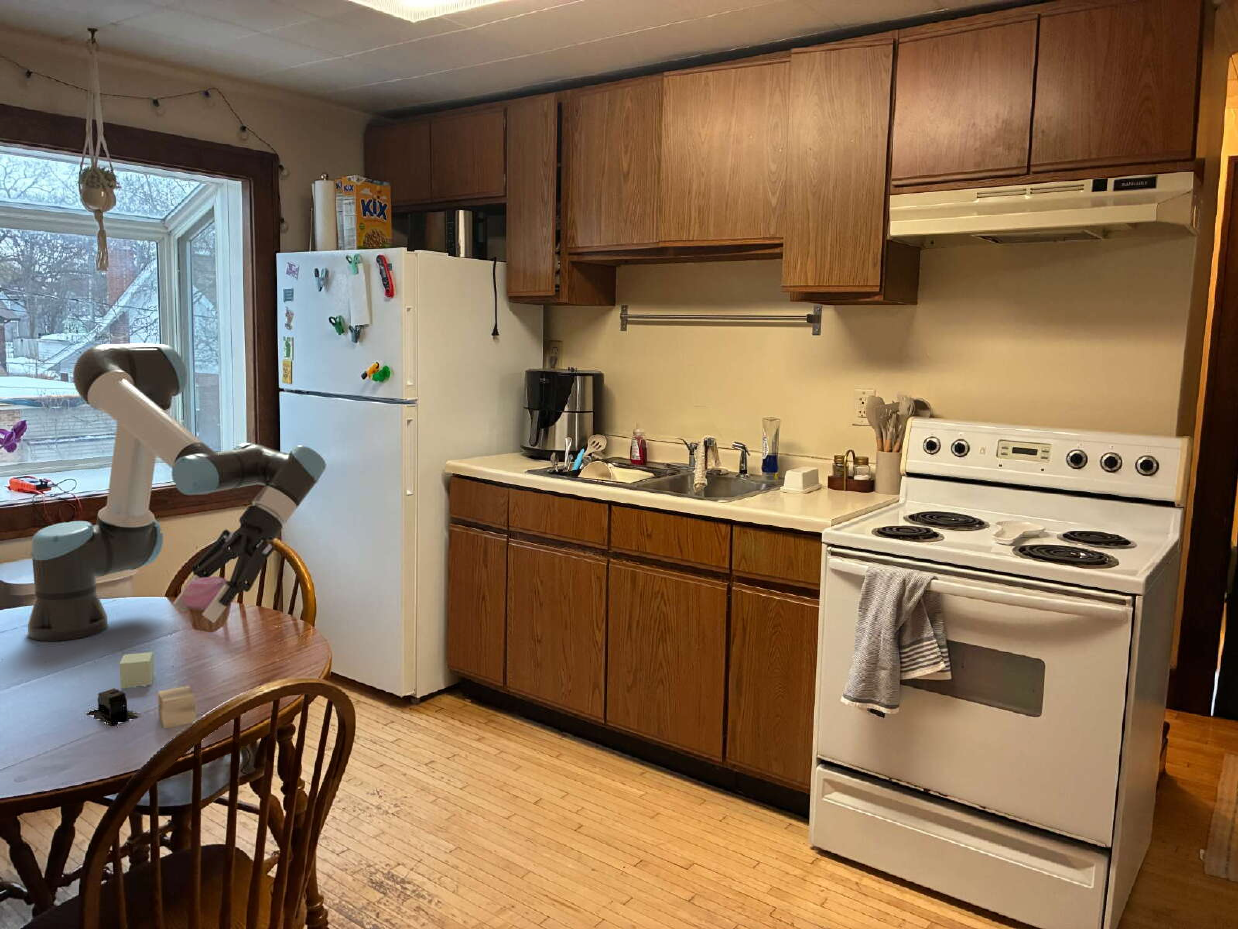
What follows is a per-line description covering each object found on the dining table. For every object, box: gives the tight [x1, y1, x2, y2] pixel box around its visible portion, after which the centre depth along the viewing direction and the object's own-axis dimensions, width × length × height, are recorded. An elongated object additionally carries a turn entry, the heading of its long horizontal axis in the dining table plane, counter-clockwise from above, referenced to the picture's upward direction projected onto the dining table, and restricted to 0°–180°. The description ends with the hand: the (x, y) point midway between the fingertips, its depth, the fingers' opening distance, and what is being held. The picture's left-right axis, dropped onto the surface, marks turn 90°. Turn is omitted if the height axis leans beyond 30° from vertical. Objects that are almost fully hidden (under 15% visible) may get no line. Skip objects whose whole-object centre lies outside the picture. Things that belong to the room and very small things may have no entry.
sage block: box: [119, 651, 155, 689], centre depth 178 cm, size 5×5×5 cm
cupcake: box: [182, 576, 236, 633], centre depth 174 cm, size 9×9×10 cm
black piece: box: [86, 688, 141, 727], centre depth 163 cm, size 12×7×5 cm, turn 56°
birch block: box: [157, 685, 196, 730], centre depth 162 cm, size 5×5×5 cm
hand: (193, 613), depth 171 cm, fingers closed on cupcake, 9 cm apart
